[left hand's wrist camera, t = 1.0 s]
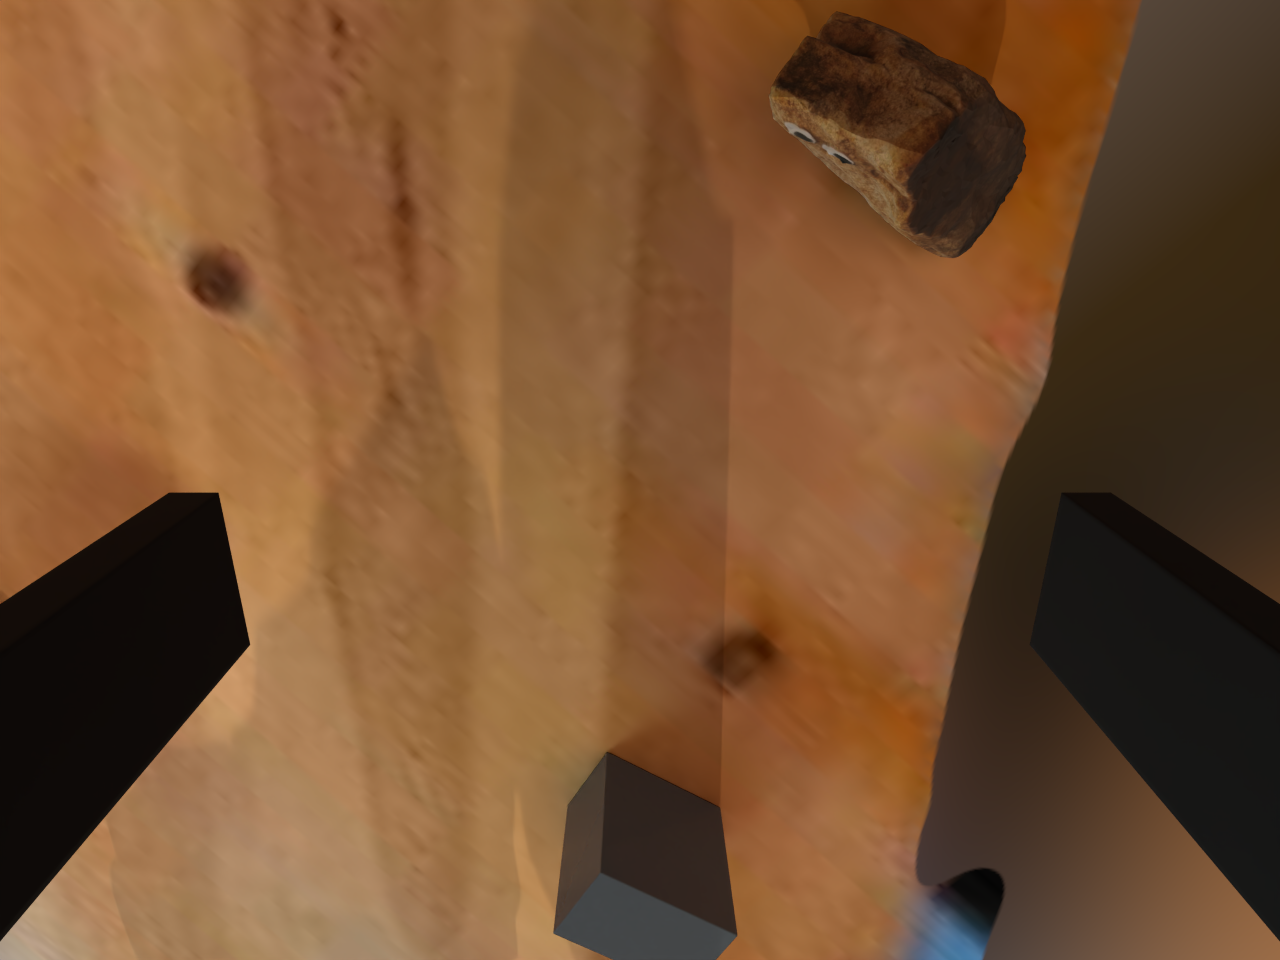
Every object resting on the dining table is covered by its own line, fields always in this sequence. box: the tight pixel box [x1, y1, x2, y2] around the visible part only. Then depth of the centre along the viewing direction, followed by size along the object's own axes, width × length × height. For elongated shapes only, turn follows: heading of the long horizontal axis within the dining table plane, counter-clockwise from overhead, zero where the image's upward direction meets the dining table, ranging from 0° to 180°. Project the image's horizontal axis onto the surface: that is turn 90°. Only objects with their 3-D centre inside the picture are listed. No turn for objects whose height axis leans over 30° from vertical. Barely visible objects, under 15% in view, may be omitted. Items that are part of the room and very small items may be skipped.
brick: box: [553, 752, 737, 960], centre depth 45 cm, size 5×8×9 cm, turn 59°
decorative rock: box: [769, 12, 1026, 258], centre depth 31 cm, size 12×6×11 cm, turn 56°
